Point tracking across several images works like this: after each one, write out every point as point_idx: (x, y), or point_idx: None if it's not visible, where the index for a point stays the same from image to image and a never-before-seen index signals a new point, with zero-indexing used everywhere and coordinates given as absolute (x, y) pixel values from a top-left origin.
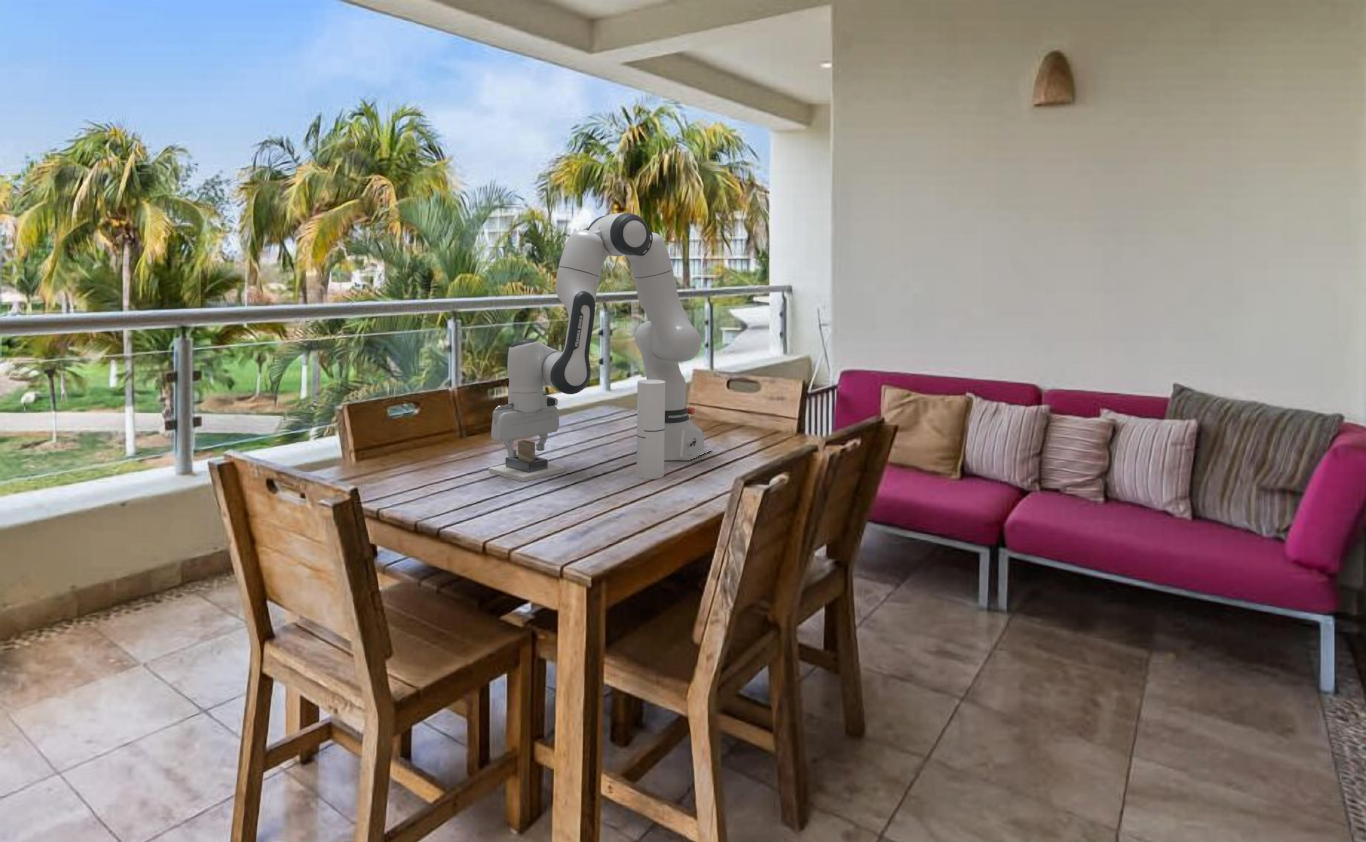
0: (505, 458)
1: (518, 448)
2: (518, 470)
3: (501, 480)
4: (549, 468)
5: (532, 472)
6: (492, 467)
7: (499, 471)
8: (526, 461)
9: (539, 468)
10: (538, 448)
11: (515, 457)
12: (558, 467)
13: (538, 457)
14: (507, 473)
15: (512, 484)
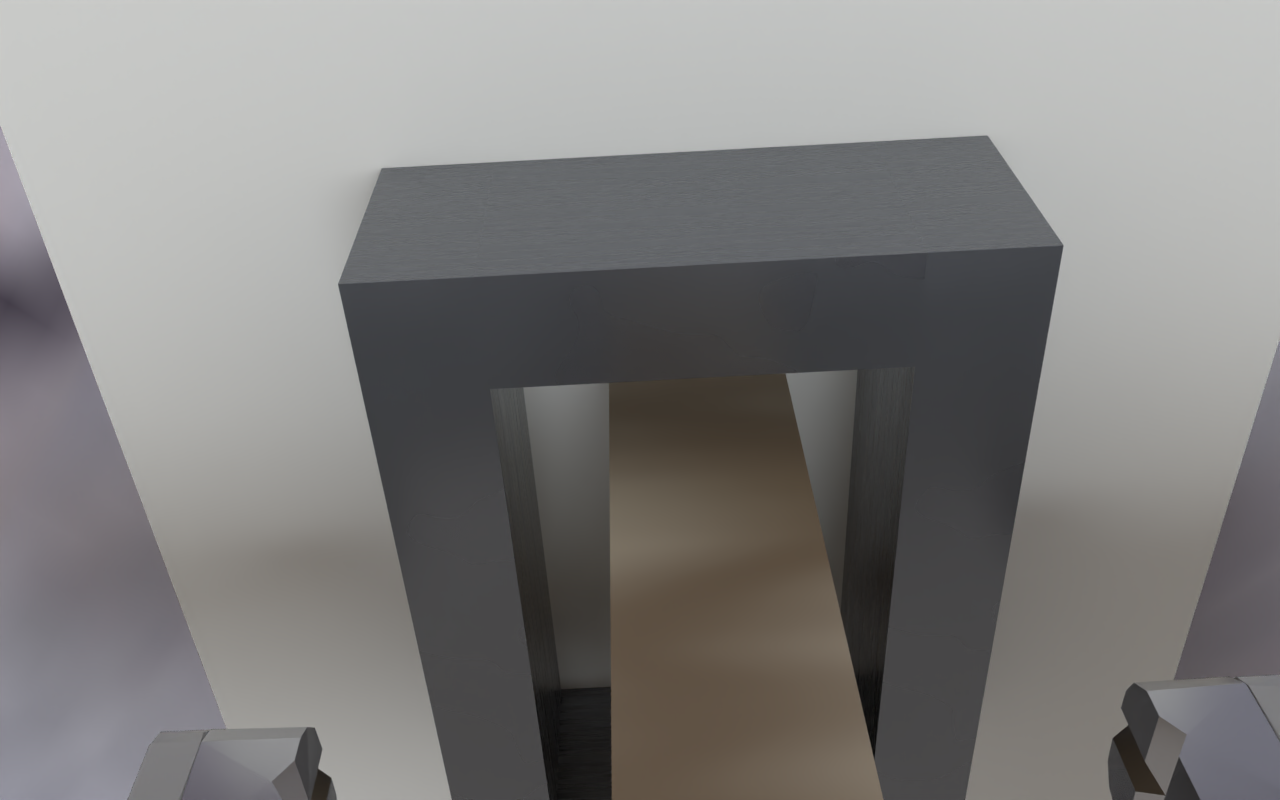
0: (340, 277)
1: (615, 697)
2: None
3: (28, 572)
4: None
5: None
6: (55, 3)
7: (95, 361)
8: (539, 795)
9: None
10: (1154, 771)
11: (615, 372)
12: (1078, 767)
13: (960, 708)
14: (172, 565)
15: (99, 789)
